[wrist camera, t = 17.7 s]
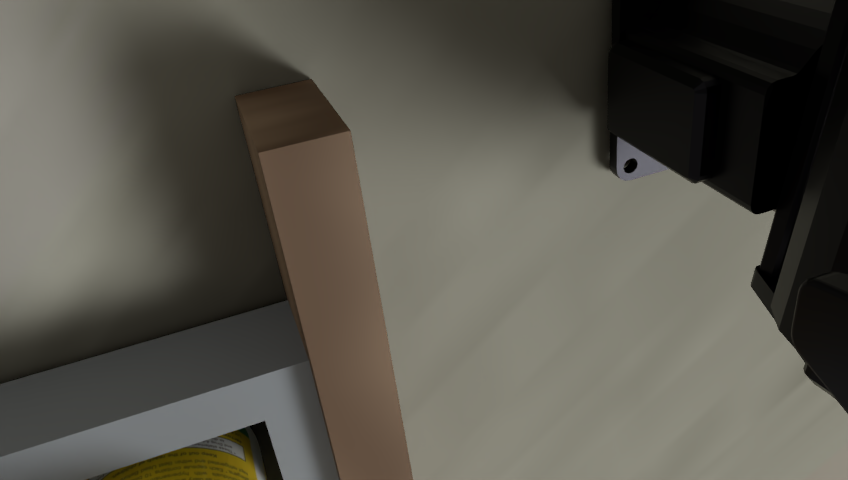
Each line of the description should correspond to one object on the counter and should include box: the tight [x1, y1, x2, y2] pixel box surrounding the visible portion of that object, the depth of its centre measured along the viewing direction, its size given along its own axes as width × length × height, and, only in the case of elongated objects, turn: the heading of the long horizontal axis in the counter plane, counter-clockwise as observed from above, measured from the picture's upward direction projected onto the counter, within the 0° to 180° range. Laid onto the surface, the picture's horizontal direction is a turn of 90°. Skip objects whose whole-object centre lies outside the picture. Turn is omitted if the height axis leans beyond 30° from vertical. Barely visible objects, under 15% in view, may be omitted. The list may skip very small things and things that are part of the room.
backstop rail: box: [235, 79, 413, 480], centre depth 23 cm, size 2×22×4 cm, turn 7°
